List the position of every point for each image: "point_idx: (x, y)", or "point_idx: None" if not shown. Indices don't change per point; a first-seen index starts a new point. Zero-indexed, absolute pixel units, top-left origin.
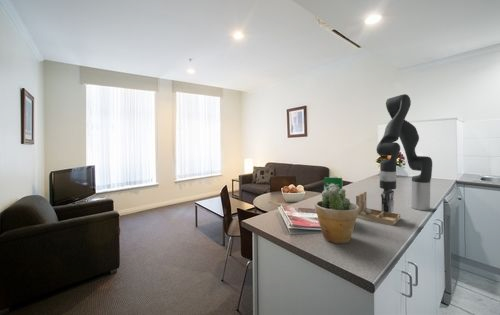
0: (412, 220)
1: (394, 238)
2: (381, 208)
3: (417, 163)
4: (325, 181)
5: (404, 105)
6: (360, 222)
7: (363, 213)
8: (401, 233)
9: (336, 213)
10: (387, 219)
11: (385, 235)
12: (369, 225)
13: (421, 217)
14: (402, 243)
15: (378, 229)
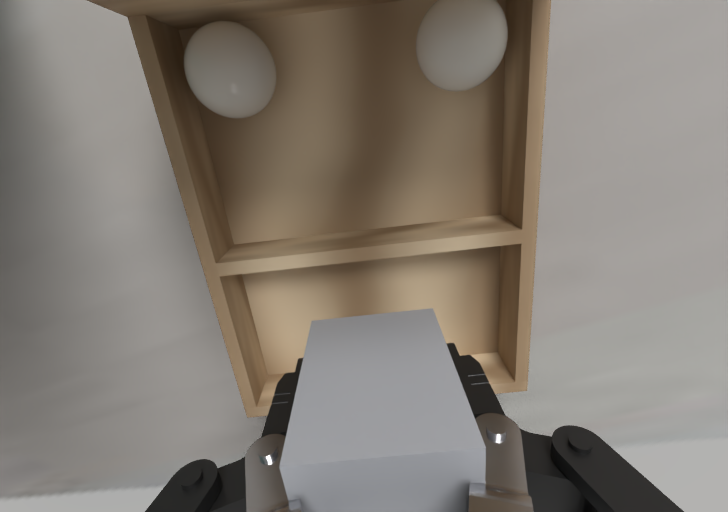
0: (548, 414)
1: (47, 450)
2: (306, 345)
3: None
4: None
5: None
6: (93, 133)
7: (198, 95)
8: (177, 448)
9: None
10: (245, 373)
11: (34, 403)
12: (105, 240)
13: (684, 431)
14: (24, 494)
15: (93, 330)
